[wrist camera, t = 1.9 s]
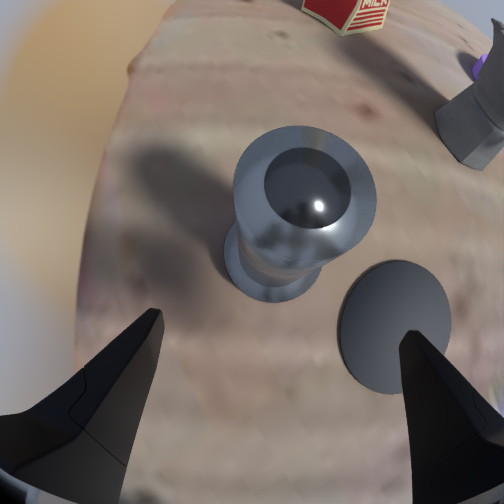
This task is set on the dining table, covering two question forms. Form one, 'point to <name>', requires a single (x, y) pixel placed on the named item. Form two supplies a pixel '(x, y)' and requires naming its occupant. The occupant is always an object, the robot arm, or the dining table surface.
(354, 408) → the dining table surface
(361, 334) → the rubber pad
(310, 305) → the dining table surface
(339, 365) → the dining table surface
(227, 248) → the grey metal flared cylinder
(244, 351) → the dining table surface
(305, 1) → the milk carton
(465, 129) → the coffeepot
